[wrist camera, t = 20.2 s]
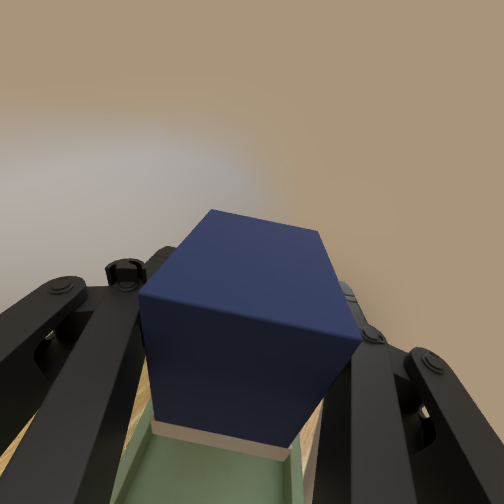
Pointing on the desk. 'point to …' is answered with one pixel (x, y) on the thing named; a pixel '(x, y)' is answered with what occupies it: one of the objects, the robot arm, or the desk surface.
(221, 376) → the blue blocks
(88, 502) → the robot arm
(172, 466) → the tray
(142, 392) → the desk surface
